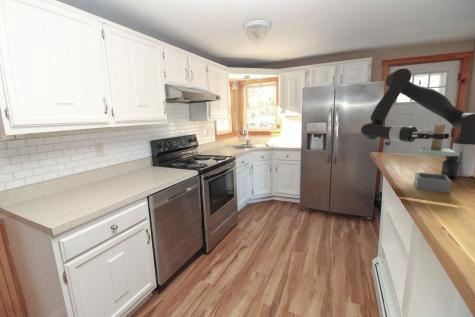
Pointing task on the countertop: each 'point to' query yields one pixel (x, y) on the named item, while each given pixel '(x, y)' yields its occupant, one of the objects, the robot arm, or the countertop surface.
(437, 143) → the peg on green base
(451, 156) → the supplement bottle
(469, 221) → the countertop surface
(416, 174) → the storage box
